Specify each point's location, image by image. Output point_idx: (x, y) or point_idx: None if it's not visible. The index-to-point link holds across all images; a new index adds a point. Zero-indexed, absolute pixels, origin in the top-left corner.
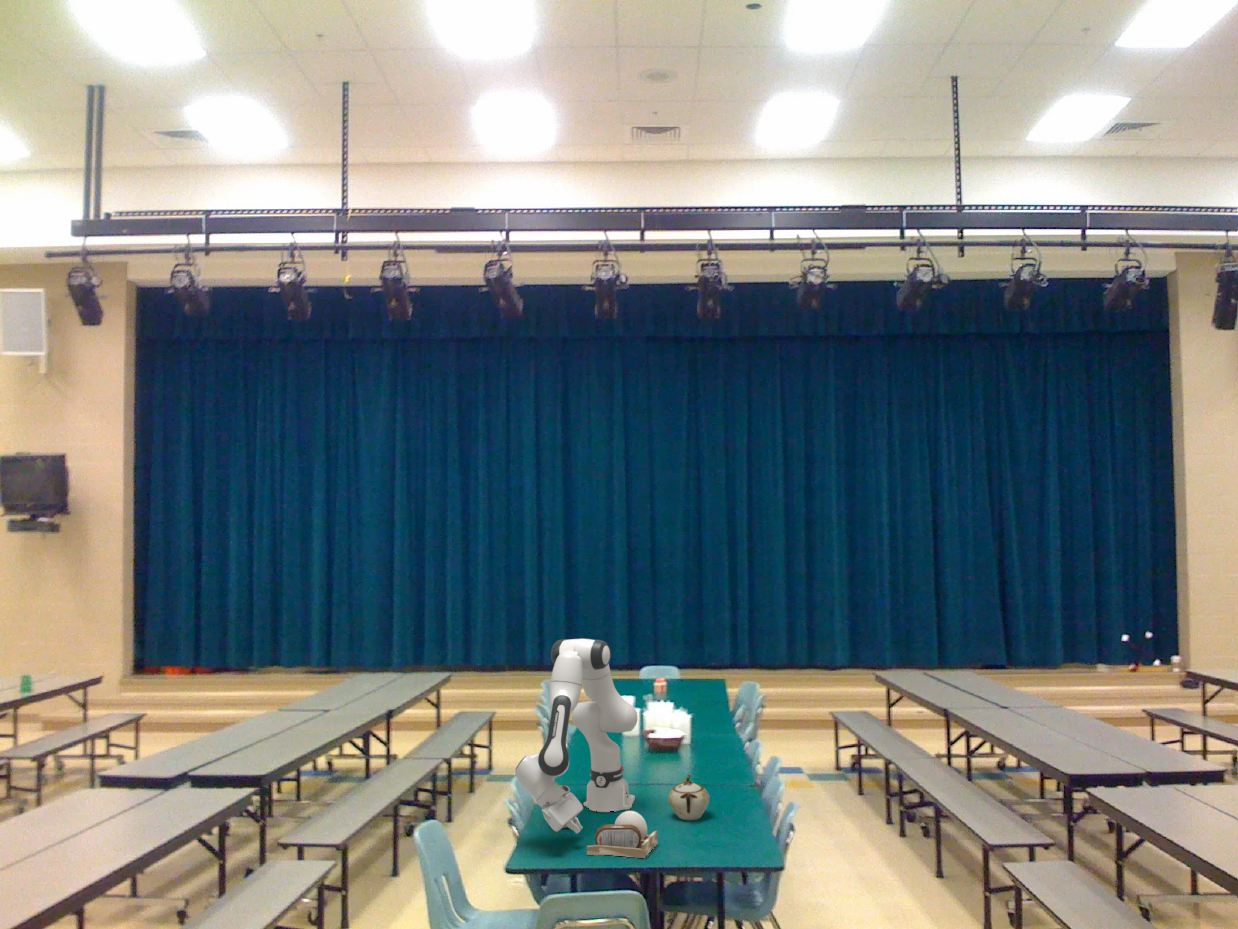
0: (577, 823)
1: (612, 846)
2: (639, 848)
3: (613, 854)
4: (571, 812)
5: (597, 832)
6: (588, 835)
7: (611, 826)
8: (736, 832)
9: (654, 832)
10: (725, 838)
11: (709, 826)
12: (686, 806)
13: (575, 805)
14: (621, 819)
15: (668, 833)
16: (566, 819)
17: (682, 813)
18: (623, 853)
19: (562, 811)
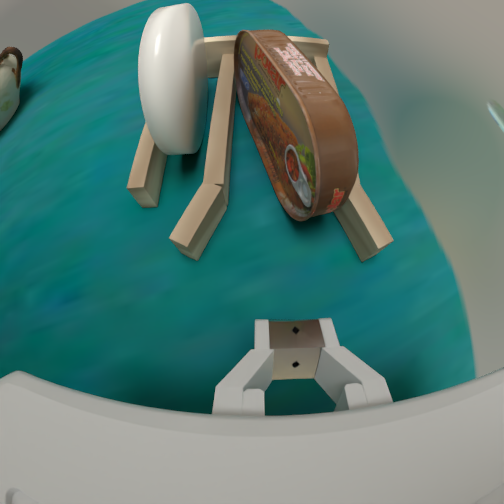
0: (264, 370)
1: None
2: (317, 61)
3: None
4: (297, 466)
5: (351, 164)
6: (87, 349)
7: (307, 78)
8: (105, 26)
9: None
10: (136, 21)
11: (61, 63)
12: (12, 76)
13: (55, 461)
14: (176, 65)
15: (83, 94)
16: (486, 393)
17: (9, 101)
18: None
19: (477, 491)
